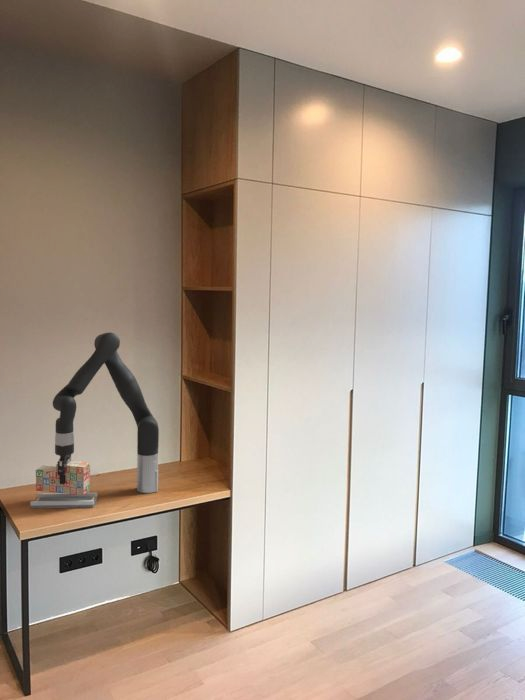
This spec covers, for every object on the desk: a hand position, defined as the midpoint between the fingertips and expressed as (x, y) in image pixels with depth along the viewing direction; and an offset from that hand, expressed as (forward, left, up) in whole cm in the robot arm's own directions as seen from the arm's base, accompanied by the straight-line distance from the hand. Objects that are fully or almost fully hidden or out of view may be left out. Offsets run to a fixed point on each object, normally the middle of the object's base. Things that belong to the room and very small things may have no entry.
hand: (64, 480), depth 237 cm
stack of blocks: (+1, 0, -5) cm, 5 cm away
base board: (0, 0, -10) cm, 10 cm away
